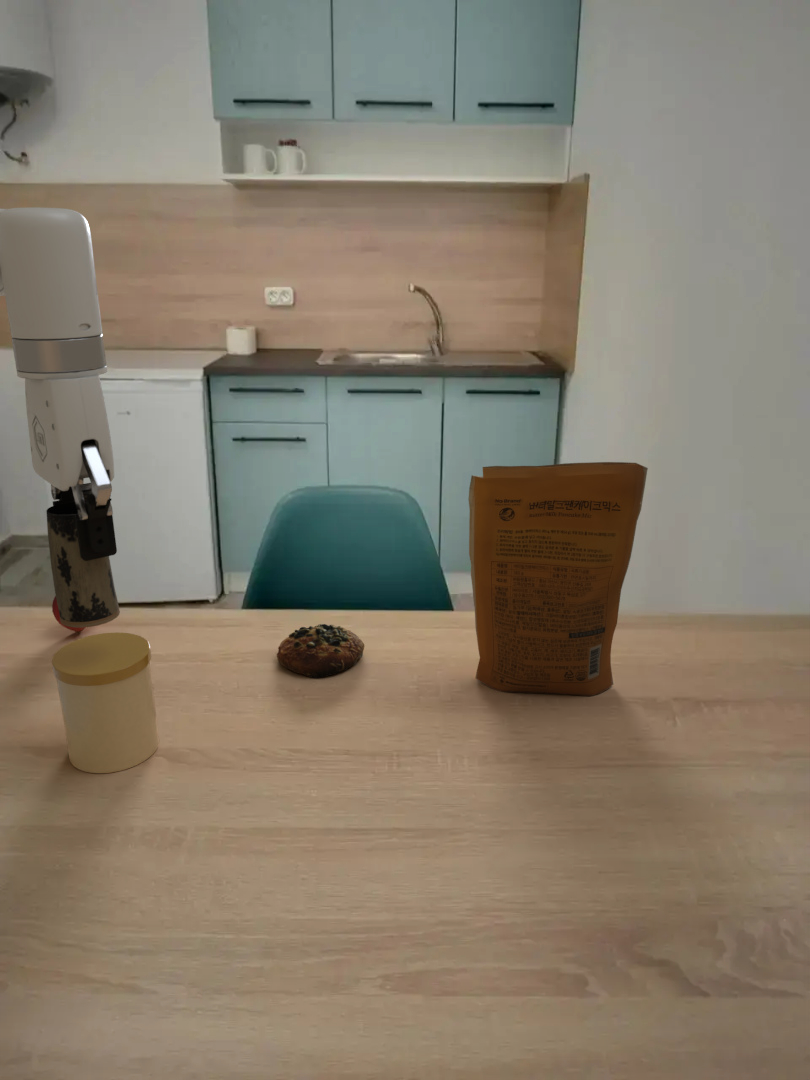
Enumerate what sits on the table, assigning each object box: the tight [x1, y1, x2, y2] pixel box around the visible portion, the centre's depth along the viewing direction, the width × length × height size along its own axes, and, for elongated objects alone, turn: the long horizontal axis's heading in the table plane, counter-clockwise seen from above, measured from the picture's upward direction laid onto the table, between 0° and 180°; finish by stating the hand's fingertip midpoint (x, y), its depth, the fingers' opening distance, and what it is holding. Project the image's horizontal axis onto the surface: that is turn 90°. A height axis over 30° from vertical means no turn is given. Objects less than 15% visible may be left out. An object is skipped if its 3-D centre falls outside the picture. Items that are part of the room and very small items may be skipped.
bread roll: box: [276, 623, 365, 679], centre depth 106 cm, size 11×11×5 cm
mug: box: [45, 491, 121, 629], centre depth 80 cm, size 8×6×12 cm
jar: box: [51, 632, 160, 774], centre depth 85 cm, size 9×9×11 cm
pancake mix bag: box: [468, 461, 649, 697], centre depth 94 cm, size 7×19×28 cm, turn 84°
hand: (86, 545), depth 80 cm, fingers closed on mug, 6 cm apart
